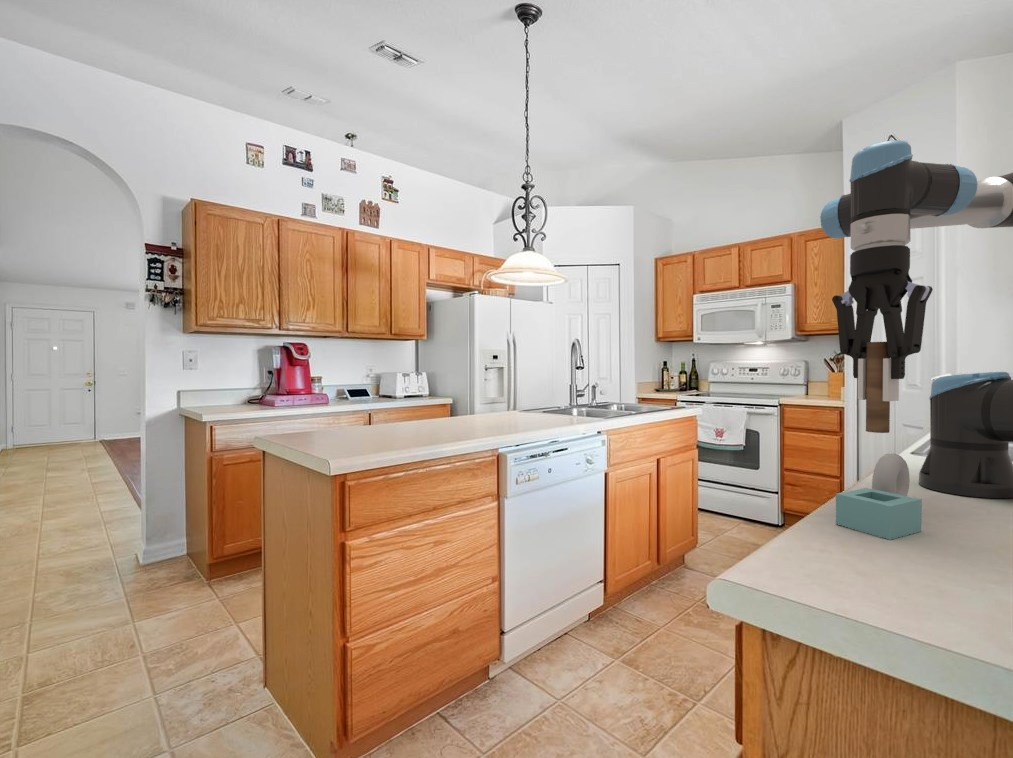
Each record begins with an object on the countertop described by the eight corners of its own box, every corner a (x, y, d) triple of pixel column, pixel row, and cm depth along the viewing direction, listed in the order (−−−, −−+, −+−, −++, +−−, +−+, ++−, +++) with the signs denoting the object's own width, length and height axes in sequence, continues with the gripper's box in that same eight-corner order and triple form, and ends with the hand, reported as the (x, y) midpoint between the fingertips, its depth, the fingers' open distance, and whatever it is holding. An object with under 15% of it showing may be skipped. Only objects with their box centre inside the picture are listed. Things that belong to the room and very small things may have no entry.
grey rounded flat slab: (892, 518, 85) (892, 458, 85) (868, 513, 88) (868, 455, 88) (912, 507, 91) (912, 451, 91) (889, 502, 94) (889, 448, 94)
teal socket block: (866, 517, 86) (866, 487, 86) (921, 531, 79) (921, 499, 79) (835, 524, 83) (835, 493, 83) (889, 539, 75) (890, 506, 75)
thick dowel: (873, 429, 82) (874, 342, 82) (893, 432, 79) (894, 341, 79) (861, 431, 81) (862, 342, 80) (882, 433, 78) (882, 341, 78)
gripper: (813, 256, 85) (812, 398, 86) (925, 234, 70) (923, 404, 71) (842, 259, 88) (841, 396, 89) (955, 239, 73) (952, 402, 74)
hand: (877, 399), depth 80 cm, fingers closed on thick dowel, 3 cm apart
